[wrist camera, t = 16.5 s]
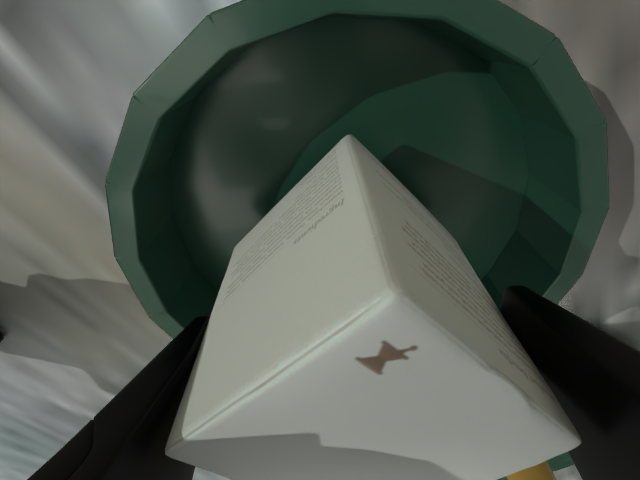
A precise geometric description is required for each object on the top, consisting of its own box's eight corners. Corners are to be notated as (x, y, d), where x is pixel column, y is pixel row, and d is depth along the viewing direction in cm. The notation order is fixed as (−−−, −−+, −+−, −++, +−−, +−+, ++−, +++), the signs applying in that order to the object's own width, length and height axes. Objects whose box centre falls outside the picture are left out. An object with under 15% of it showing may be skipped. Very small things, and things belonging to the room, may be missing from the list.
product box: (230, 244, 13) (148, 458, 6) (350, 125, 10) (401, 282, 4) (343, 323, 15) (361, 535, 9) (460, 241, 13) (597, 452, 6)
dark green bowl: (220, 352, 19) (202, 412, 16) (74, 21, 10) (-22, 22, 7) (502, 328, 18) (538, 387, 15) (602, -60, 9) (731, -96, 6)
